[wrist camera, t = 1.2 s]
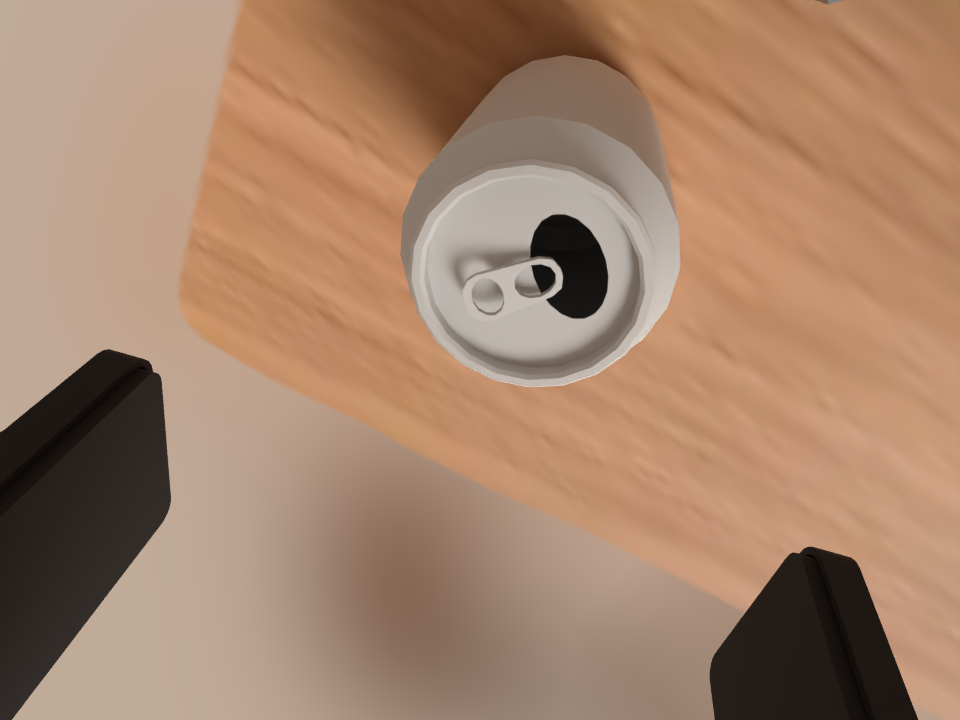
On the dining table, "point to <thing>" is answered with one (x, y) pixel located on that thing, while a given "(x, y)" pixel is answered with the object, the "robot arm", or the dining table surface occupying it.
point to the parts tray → (829, 1)
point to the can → (545, 227)
